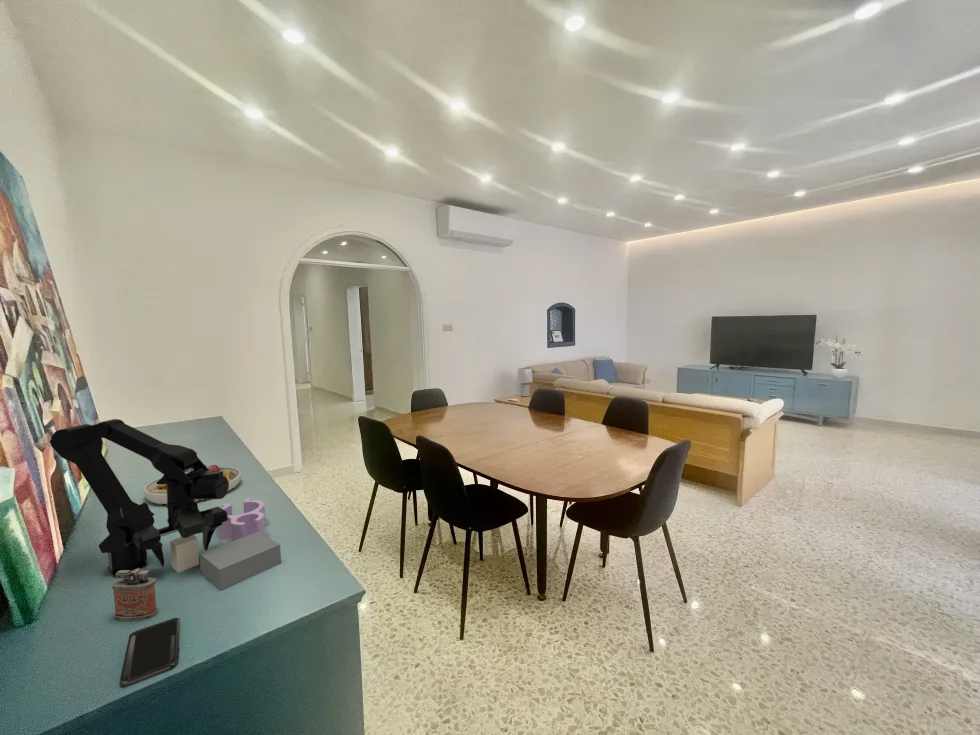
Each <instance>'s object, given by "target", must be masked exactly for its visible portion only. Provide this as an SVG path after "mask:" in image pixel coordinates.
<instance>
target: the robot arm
mask: <svg viewBox="0 0 980 735" xmlns="http://www.w3.org/2000/svg"><path fill="white" fill-rule="evenodd" d="M103 439H106V440H108V441H110V442H111V443H114V444H115V445H117V446H119V447H122V448H124V449H126V450H128V451H130V452H133V453H134V454H137V455H138V456H141V457H142V458H144V459H146V460H148V461H150V463H151V464H152V467H153V469H155V470H157V471H158V472H159V473H161V474H162V477H160V478H161V479H160V480H159V481H157V484H166V489H167V504H166V505H165V506H166V509H167V520H166V522H167V524H168V526H165V527H161V528H158V529H157V528H156V527H155V526H154V525H155V518H154V516H155V513H154V512H152V510H151V509H150V508H149V505H148V503H147V502H142V503H141V504H139V503H137V502H134V501H133V500H132V499H131V498H130V497H131V496H129V494H128V492H127V491H126V490H125V488H124V487H123V485H122V484H121V482H120V480H119V479H118V477H117V475H116V474H115V472H114V471H113V469H112V468H111V466H110V465H109V463H108V461H107V459H106V458H105V457H104V455H103V453H102V452H103V446H104V444H103V443H104V441H103ZM49 444H50V446H51V448H52V449H53V450H54V452H56V453H57V455H59V456H60V458H62V459H64V460H66V461H68V462H70V463H73V464H75V466H76V467H77V468H78V470H79V471H80V472H81V474H82V476H83V478H84V479H85V481H86V482H87V484H88V486H89V487H90V488H91V490H92V491H93V493H94V495H95V496H96V497H97V500H98V501H99V503H100V504H101V505H102V507H103V509H104V510H105V512H106V514H107V518H106V525H105V526H106V529H107V531H108V535H107V536H106V537H105V539H103V540H102V541H101V542H100V543H99V544H98V548H99V550H100V552H101V553H102V554H108V566H107V567H106V569H107V570H108V572H109V573H110V574H111V576H112V577H114V578H116V573H117V572H118V571H120V570H130V571H134V570H135V569H137V568H140V569H141V568H143V567H146V566H147V565H148V563H147V561H148V553H147V551H149V550H151V552H152V553H153V554H154V556H155V557H156V560H157V561H158V563H159V564H160V566H161V567H162V568H163V567H165V558H164V552H163V551H164V550H163V543H162V542H161V540H162V539H161V537H164V536H167V535H170V534H173V533H177V532H178V533H179V535H180V537H182V538H188V537H190V536H192V535H194V536H195V535H196V534H202V546H203V550H204V552H205V551H208V550H209V549H208V548H209V546H210V544H211V541H212V537H213V535H214V533H215V531H216V530H217V527H219V526H221V525H222V522H225V521H227V520H228V514H227V511H225V510H223V509H222V507H220V506H214V507H211V508H208V509H206V510H205V509H204V510H201V511H200V509H199V505H198V502H196V499H198V500H200V499H207V500H221V499H224V498H225V497H226V496H227V494H228V492H229V491H228V488H229V481H228V480H227V478H226V477H225V476H223V472H222V471H219V472H208V471H209V470H208V467H207V465H206V464H205V465H206V466H205V465H204V462H202V460H201V459H200V458H199V457H198V455H197V452H196V450H194V449H193V448H191V447H190V448H189V447H185V446H182V445H178V444H169V443H165V442H163V441H161V440H159V439H157V438H155V437H153V436H151V435H149V434H147V433H145V432H143V431H140V430H139V429H137V428H135V427H133V426H130V425H128V424H126V423H125V421H123V420H122V419H117V418H112V419H109V420H103V421H100V422H98V423H96V424H93V425H92V424H89V423H83V424H79V425H78V424H77V425H74V426H70V427H65V428H61V429H59V430H56V431H54V433H52V435H51V437H50V439H49ZM191 469H194V470H193V471H191V472H189V473H187V474H186V473H185V472H186V471H189V470H191ZM206 472H208V473H206Z"/></svg>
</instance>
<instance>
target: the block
mask: <svg viewBox="0 0 980 735" xmlns="http://www.w3.org/2000/svg"><path fill="white" fill-rule="evenodd" d="M169 542H170V546H169V547H170V559H171V560H170V562H171V568H173V569H174V570H175V572H176V573H181V572H184V571H187V570H188V569H191V568H194V567H196V566H198V565H199V566H200V555H199V539H198V537H196V536H195V535H192V536H190V537H188V538H182V537H181V536H180V537H177V538H172V539H171V540H170V541H169Z"/></svg>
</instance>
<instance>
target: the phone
mask: <svg viewBox="0 0 980 735" xmlns="http://www.w3.org/2000/svg"><path fill="white" fill-rule="evenodd" d="M180 627H181V619H180V618H179V617H173V618H170V619H167V620H164V621H161V622H158V623H155V624H152V625H150V626H147V627H142V628H140V629H137V630H135V631H133V632H132V633H130V635H129V637H128V641H127V647H126V651H125V655H124V659H123V664H122V669H121V675H120V679H119V686H120V687H121V688H127V687H130V686H133V685H135V684H137V683H140V682H143V681H146V680H148V679H151V678H153V677H155V676H159V675H160V674H164V673H167V672H168V671H171V670H173V669H175V668H176V667H177V666H178V665H179V658H180V656H179V655H180V632H181V631H180V629H181V628H180Z"/></svg>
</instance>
